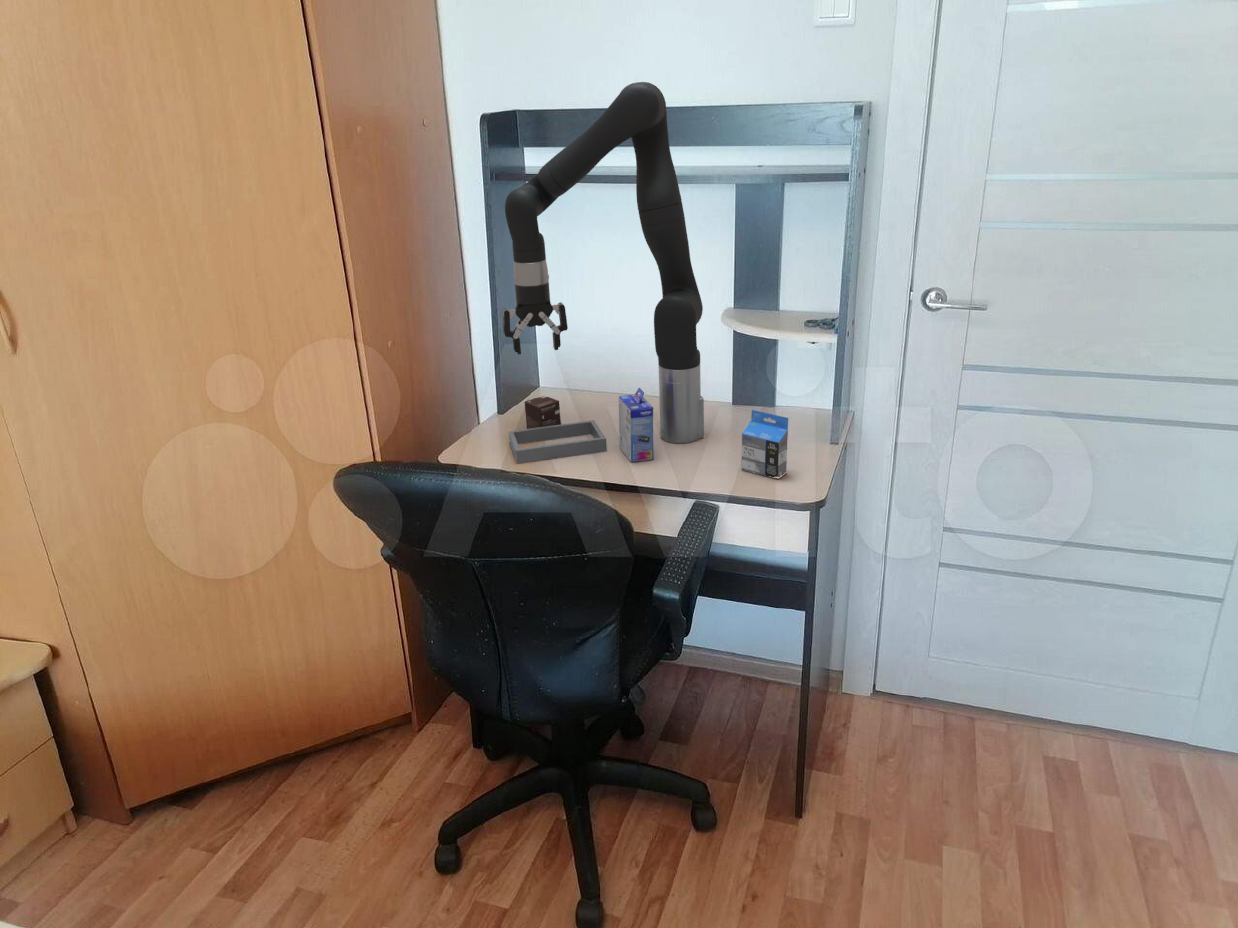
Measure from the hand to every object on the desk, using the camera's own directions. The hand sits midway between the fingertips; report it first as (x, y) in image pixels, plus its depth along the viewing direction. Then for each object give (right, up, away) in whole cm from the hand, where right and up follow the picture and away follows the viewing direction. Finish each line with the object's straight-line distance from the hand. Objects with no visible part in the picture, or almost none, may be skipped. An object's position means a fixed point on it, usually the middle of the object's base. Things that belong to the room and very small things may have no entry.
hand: (537, 351), depth 206 cm
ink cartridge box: (+23, -23, -7) cm, 33 cm away
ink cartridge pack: (+48, -27, -19) cm, 59 cm away
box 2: (+5, -22, -2) cm, 22 cm away
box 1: (+1, -18, +8) cm, 20 cm away
